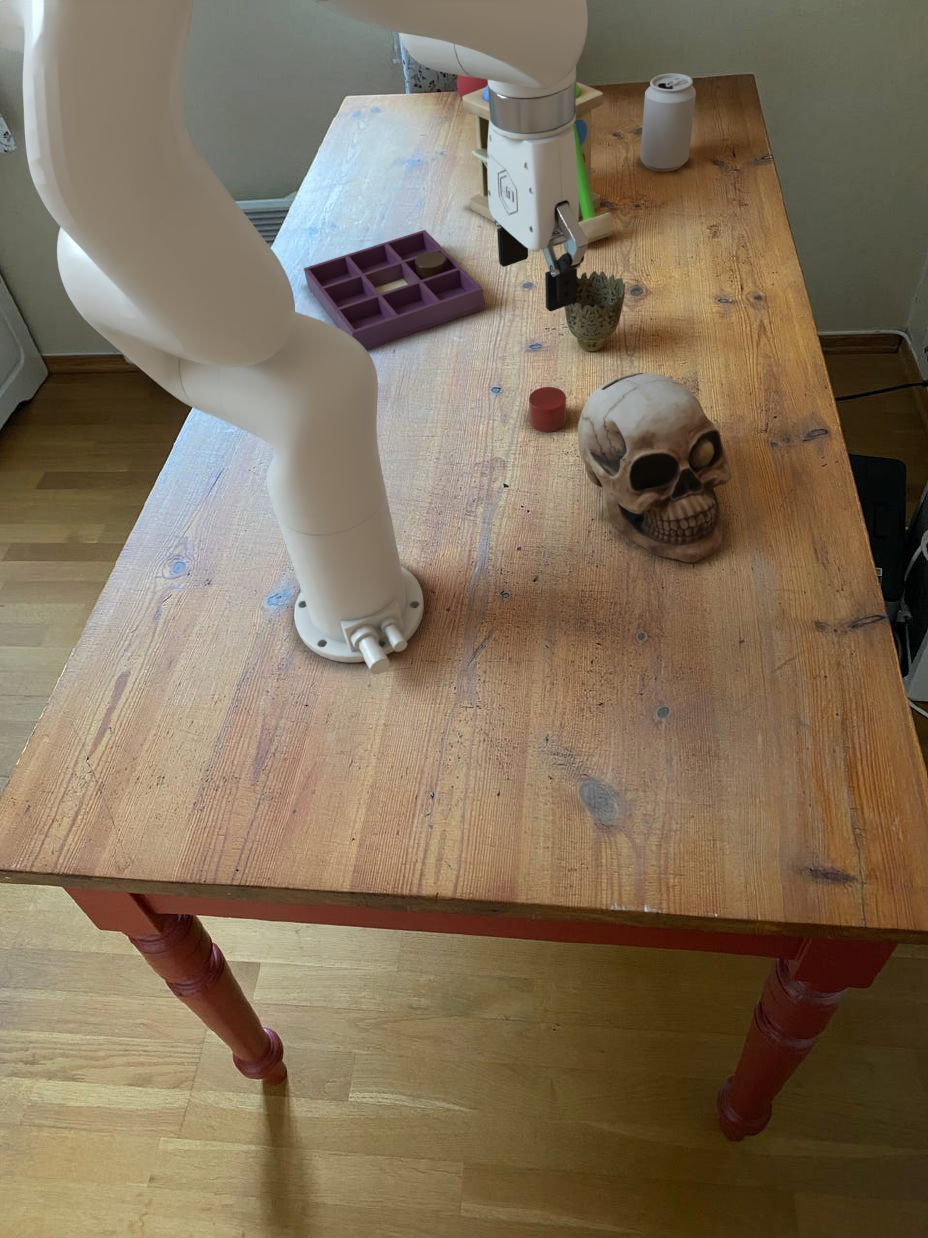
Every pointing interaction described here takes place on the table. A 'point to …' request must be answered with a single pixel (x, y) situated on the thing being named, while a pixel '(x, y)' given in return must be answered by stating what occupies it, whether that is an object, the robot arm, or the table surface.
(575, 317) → the cup
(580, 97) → the pounding bench toy
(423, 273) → the walnut token
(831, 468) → the table surface
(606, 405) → the coin bank
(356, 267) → the board
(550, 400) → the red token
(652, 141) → the can
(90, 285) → the robot arm
